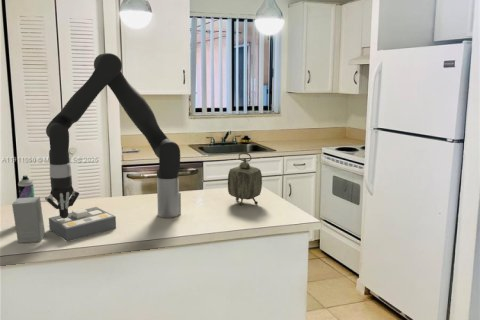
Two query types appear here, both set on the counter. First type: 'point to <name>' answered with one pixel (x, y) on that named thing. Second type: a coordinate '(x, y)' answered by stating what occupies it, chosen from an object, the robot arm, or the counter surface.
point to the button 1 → (63, 220)
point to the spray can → (26, 188)
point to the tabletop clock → (245, 181)
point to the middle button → (79, 213)
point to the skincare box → (28, 219)
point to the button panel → (83, 225)
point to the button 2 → (95, 212)
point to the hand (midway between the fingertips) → (64, 217)
